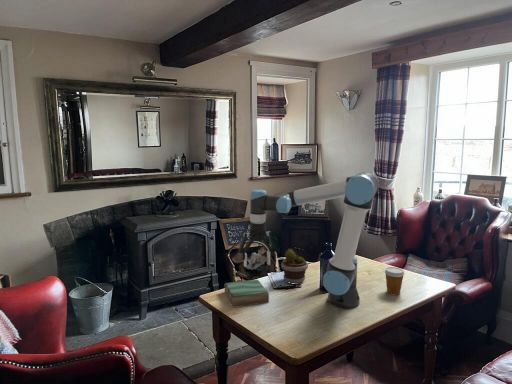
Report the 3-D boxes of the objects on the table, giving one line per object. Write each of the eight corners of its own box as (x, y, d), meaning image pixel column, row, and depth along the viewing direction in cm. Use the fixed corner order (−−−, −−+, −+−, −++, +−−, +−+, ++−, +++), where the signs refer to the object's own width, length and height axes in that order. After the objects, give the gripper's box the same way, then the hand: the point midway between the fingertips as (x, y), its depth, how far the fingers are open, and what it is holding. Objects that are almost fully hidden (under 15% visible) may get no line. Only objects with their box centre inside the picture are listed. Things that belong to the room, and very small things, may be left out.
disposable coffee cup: (393, 297, 188) (394, 274, 187) (379, 290, 197) (380, 268, 195) (407, 294, 192) (408, 271, 190) (393, 287, 201) (394, 265, 199)
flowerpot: (296, 274, 220) (296, 241, 217) (313, 282, 207) (314, 247, 204) (275, 279, 213) (275, 244, 210) (292, 288, 200) (292, 252, 197)
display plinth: (268, 302, 184) (268, 292, 183) (232, 307, 179) (232, 297, 178) (258, 287, 201) (257, 278, 200) (224, 292, 196) (224, 282, 195)
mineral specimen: (251, 275, 188) (264, 275, 180) (240, 266, 185) (252, 266, 177) (259, 258, 193) (272, 258, 185) (248, 249, 189) (261, 249, 181)
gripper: (278, 218, 189) (277, 260, 193) (232, 221, 183) (231, 264, 186) (283, 222, 182) (282, 265, 186) (235, 225, 176) (235, 269, 179)
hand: (257, 265), depth 186 cm, fingers closed on mineral specimen, 11 cm apart
